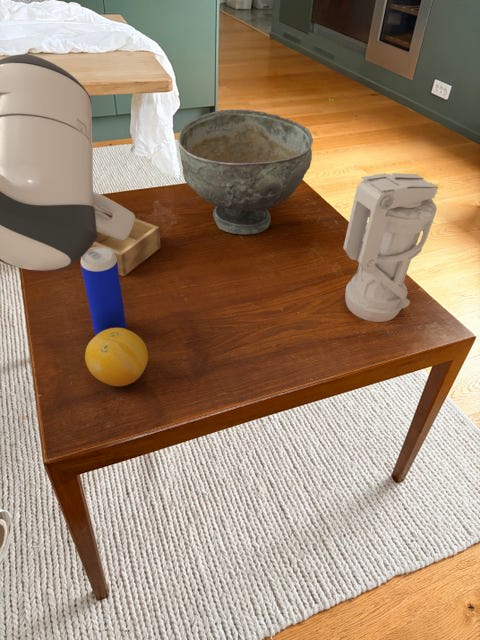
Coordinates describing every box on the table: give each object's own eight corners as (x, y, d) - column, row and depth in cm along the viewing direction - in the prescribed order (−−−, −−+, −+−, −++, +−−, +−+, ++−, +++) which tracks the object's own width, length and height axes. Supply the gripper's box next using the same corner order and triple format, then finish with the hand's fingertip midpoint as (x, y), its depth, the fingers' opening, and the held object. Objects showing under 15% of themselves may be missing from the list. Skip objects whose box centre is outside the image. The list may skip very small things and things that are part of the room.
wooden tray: (124, 276, 93) (121, 254, 89) (76, 256, 96) (72, 235, 93) (160, 247, 100) (159, 226, 97) (115, 230, 104) (112, 210, 101)
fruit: (80, 389, 72) (70, 350, 67) (103, 351, 78) (96, 312, 73) (137, 401, 71) (132, 363, 65) (157, 362, 77) (154, 324, 71)
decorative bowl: (296, 192, 120) (305, 107, 106) (311, 254, 101) (323, 161, 88) (187, 192, 119) (182, 107, 106) (181, 254, 101) (173, 161, 87)
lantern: (376, 281, 95) (412, 156, 79) (413, 314, 89) (461, 184, 72) (320, 298, 91) (347, 169, 74) (355, 334, 84) (393, 200, 67)
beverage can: (133, 329, 82) (123, 253, 72) (110, 346, 79) (97, 270, 69) (110, 316, 84) (98, 241, 74) (87, 333, 81) (71, 256, 71)
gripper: (105, 177, 52) (163, 219, 65) (-32, 132, 58) (46, 178, 72) (82, 233, 52) (145, 263, 65) (-52, 182, 58) (30, 219, 72)
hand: (93, 218), depth 68 cm, fingers open, 8 cm apart
